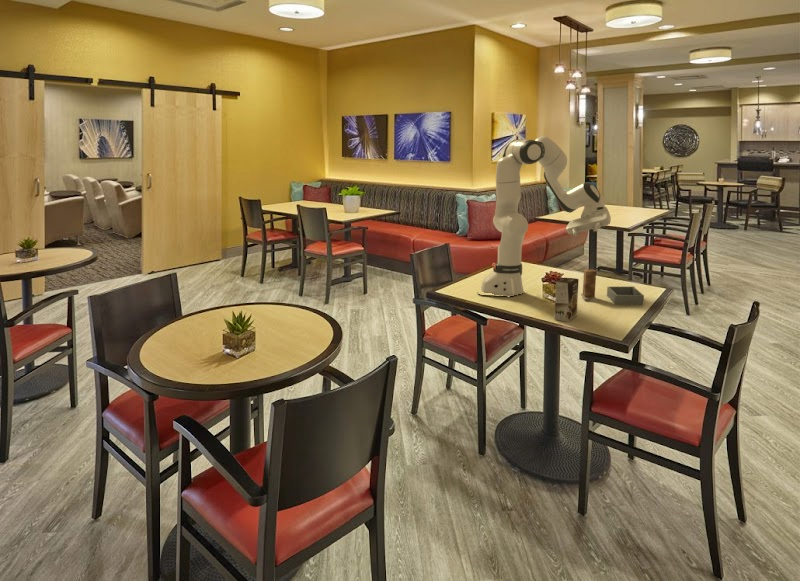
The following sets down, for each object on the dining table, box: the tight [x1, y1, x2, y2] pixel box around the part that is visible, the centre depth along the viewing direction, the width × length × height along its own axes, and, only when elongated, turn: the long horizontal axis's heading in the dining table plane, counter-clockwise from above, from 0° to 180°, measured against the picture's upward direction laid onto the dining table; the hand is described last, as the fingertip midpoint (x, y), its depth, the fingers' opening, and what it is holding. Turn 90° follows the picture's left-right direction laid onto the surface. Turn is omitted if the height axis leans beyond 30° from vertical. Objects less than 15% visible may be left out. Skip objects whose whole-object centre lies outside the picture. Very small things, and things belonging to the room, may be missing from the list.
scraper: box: [580, 268, 597, 302], centre depth 254 cm, size 5×9×13 cm, turn 173°
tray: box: [606, 285, 645, 306], centre depth 251 cm, size 12×16×4 cm
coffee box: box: [553, 277, 580, 323], centre depth 228 cm, size 9×6×16 cm
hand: (584, 232), depth 258 cm, fingers open, 8 cm apart
